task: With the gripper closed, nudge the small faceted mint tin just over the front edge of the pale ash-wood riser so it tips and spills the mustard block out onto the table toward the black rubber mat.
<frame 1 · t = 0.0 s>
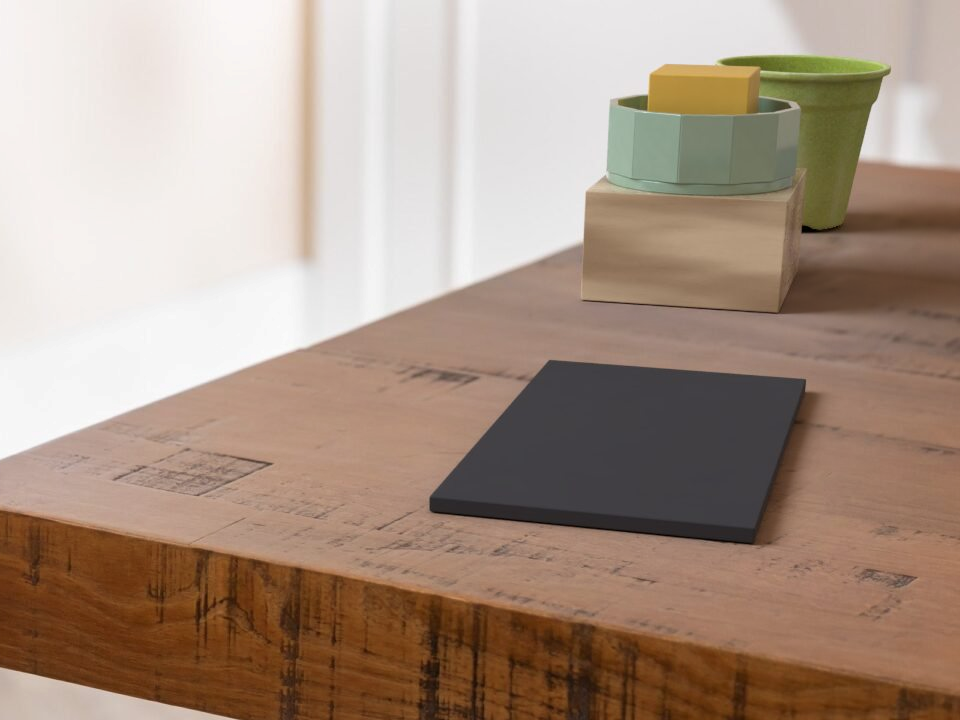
faceted mint tin: (698, 180, 87), point 5 cm above the table, touching block, riser
plant pot: (788, 226, 105), on the table
riser: (693, 284, 90), on the table
mat: (636, 445, 65), on the table
block: (699, 169, 87), point 5 cm above the table, touching faceted mint tin
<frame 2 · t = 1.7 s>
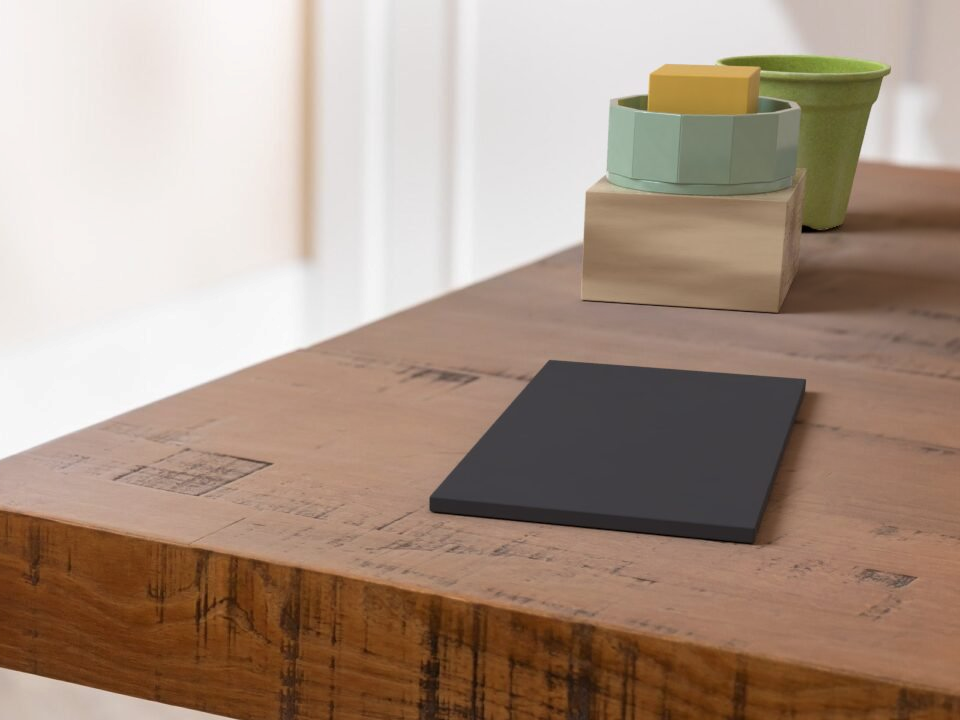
nothing on the table moved.
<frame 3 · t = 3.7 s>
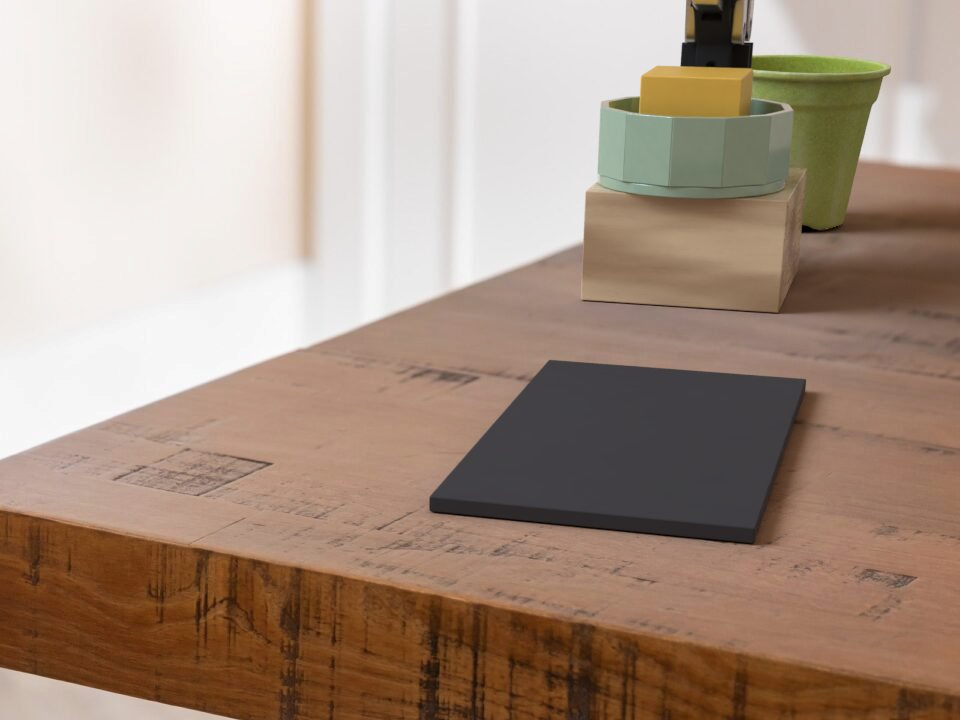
hand: (711, 126, 91), 7 cm above the table, tool pointing down, fingers closed
faceted mint tin: (690, 183, 86), point 5 cm above the table, touching block, gripper
block: (691, 172, 86), point 6 cm above the table, touching faceted mint tin
everything else where it was.
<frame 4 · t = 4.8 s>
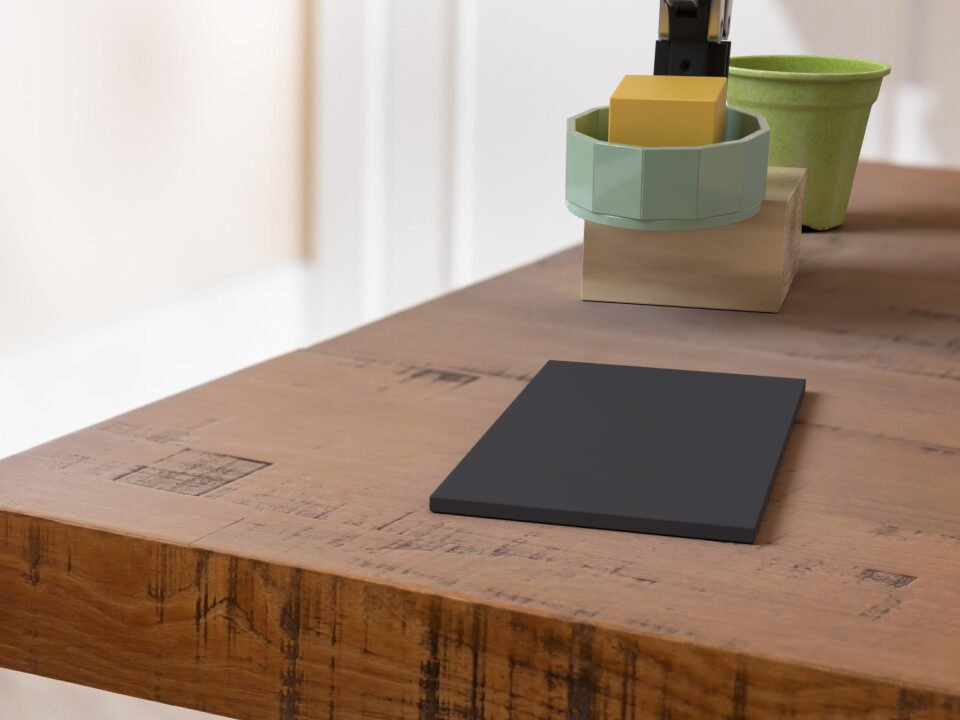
hand: (686, 129, 86), 7 cm above the table, tool pointing down, fingers closed
faceted mint tin: (663, 203, 82), point 5 cm above the table, tilted 6°, touching block, gripper, riser
block: (664, 190, 82), point 5 cm above the table, tilted 6°, touching faceted mint tin
everything else where it was.
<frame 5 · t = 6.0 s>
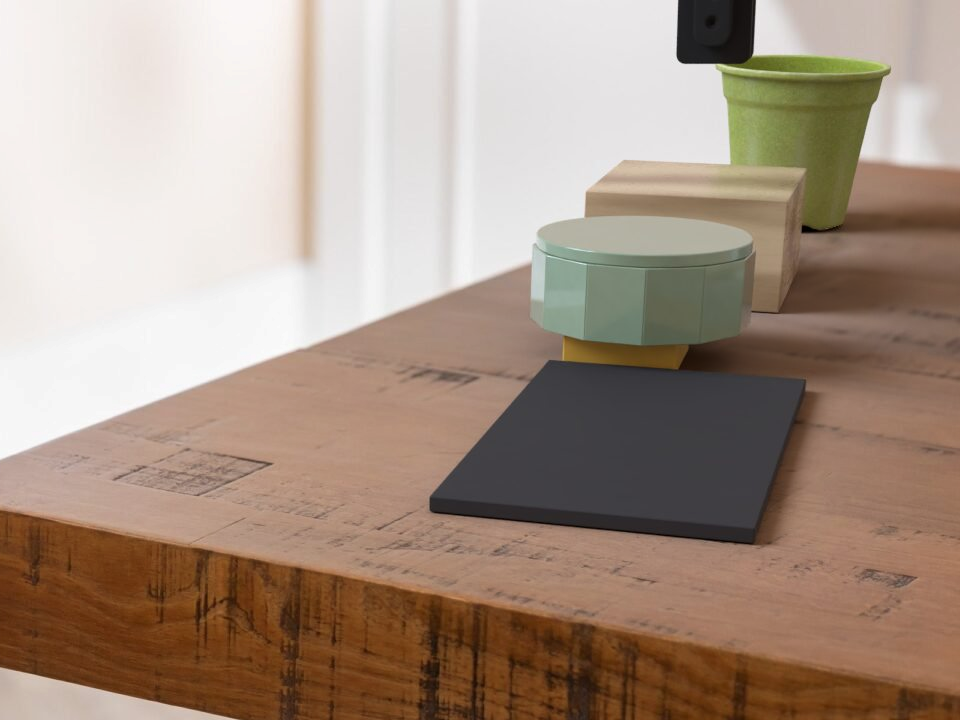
hand: (714, 61, 83), 11 cm above the table, tool pointing down, fingers closed
faceted mint tin: (644, 234, 75), point 5 cm above the table, tilted 180°, touching block
block: (632, 249, 74), point 4 cm above the table, tilted 180°, touching faceted mint tin
everything else where it was.
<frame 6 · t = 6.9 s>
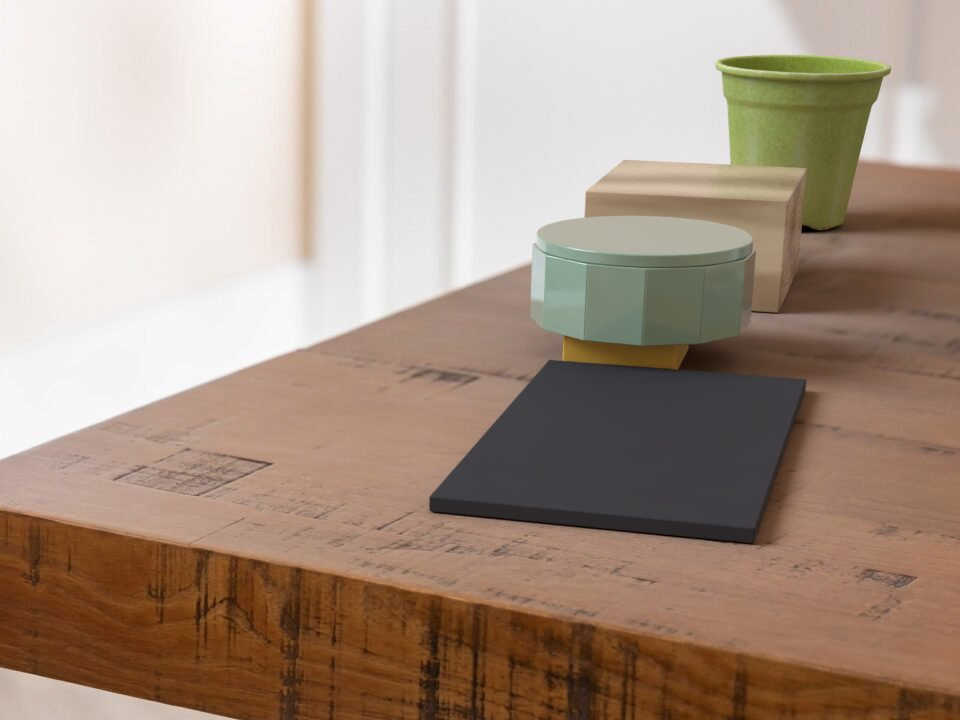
nothing on the table moved.
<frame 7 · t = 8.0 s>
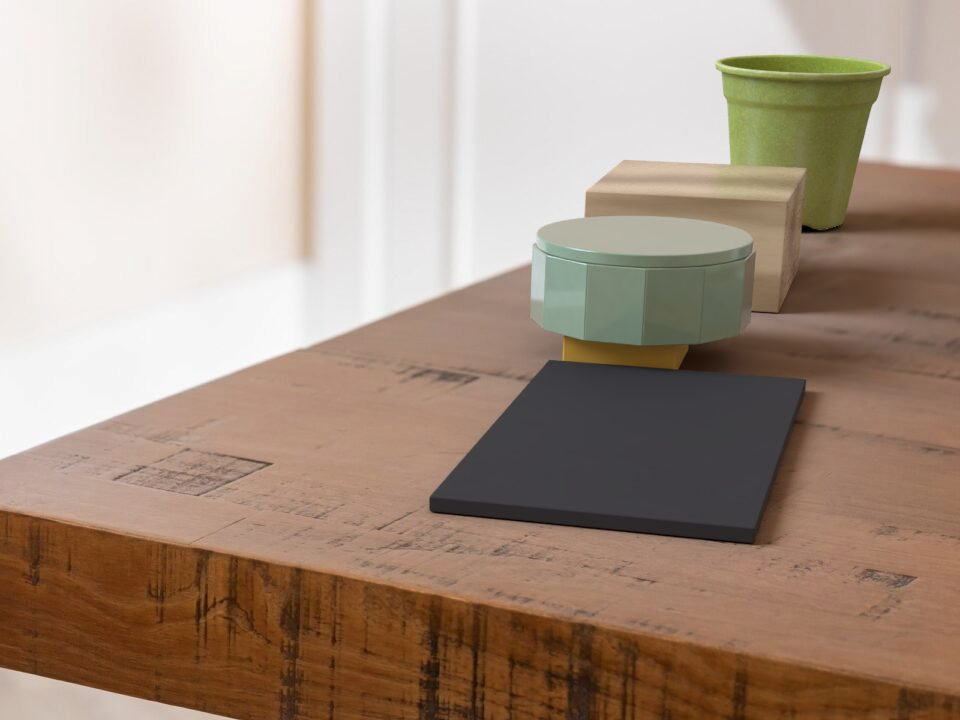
nothing on the table moved.
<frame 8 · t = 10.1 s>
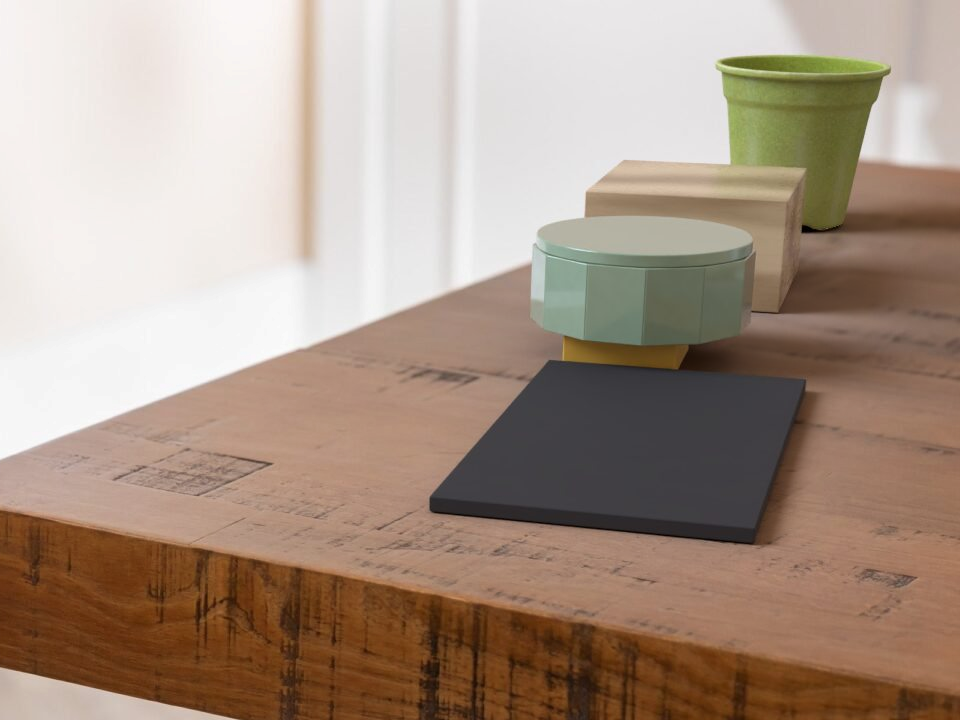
nothing on the table moved.
at the end: block inside the target area on the mat (5.0 cm from its centre), point 4.5 cm above the mat's base; block moved 14.9 cm from its start; faceted mint tin tilted 180° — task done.
